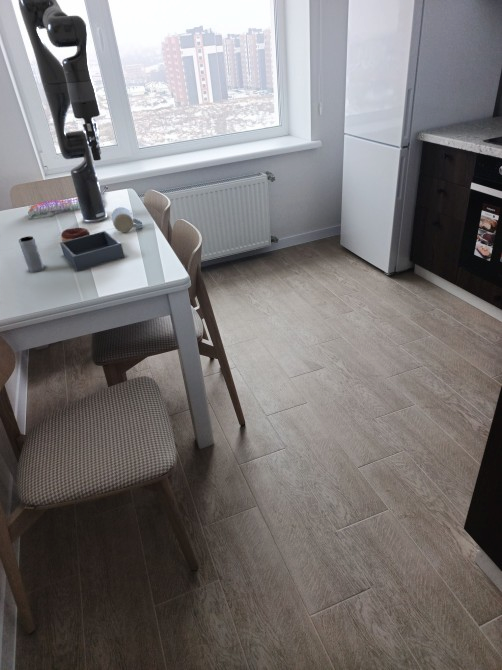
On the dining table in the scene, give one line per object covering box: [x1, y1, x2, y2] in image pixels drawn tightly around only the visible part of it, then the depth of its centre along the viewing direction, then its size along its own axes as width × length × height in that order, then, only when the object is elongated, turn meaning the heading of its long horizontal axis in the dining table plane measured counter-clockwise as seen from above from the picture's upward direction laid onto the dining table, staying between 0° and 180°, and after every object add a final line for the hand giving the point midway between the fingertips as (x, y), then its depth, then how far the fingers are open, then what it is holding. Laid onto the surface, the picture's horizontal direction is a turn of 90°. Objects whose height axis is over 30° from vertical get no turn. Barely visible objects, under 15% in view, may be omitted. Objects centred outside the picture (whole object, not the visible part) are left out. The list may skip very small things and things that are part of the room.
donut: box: [60, 227, 91, 242], centre depth 171 cm, size 10×10×4 cm
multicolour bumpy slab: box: [27, 197, 81, 220], centre depth 207 cm, size 30×15×5 cm, turn 104°
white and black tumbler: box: [18, 235, 45, 273], centre depth 149 cm, size 4×4×10 cm
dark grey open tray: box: [59, 230, 125, 272], centre depth 156 cm, size 17×16×5 cm
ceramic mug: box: [111, 206, 144, 233], centre depth 177 cm, size 11×8×8 cm
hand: (97, 157), depth 146 cm, fingers open, 8 cm apart
